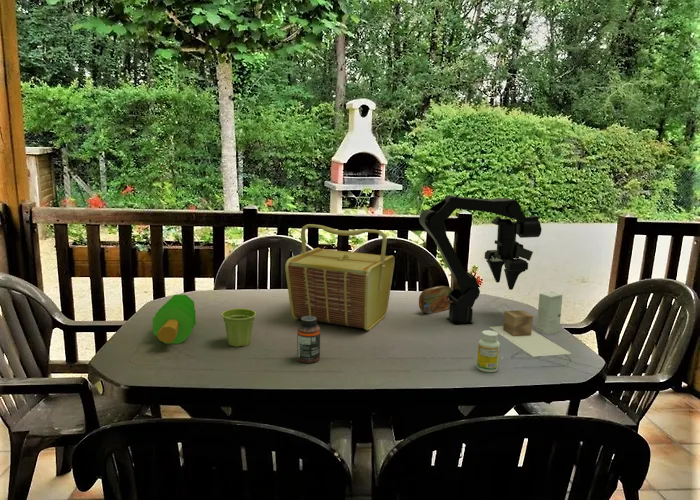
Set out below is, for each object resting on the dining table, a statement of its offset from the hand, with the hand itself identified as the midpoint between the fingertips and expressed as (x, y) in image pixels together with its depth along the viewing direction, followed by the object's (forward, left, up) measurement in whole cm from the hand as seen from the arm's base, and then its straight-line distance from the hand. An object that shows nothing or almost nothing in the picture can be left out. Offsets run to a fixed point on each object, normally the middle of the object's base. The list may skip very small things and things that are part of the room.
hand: (504, 285), depth 179 cm
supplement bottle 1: (-67, -21, -12) cm, 71 cm away
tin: (-17, +14, -12) cm, 25 cm away
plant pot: (-84, -6, -12) cm, 85 cm away
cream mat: (-1, -18, -12) cm, 21 cm away
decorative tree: (-101, +5, -12) cm, 102 cm away
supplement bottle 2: (-23, -35, -12) cm, 44 cm away
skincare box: (+9, -12, -12) cm, 19 cm away
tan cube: (-1, -12, -12) cm, 17 cm away
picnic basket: (-51, +11, -12) cm, 54 cm away
